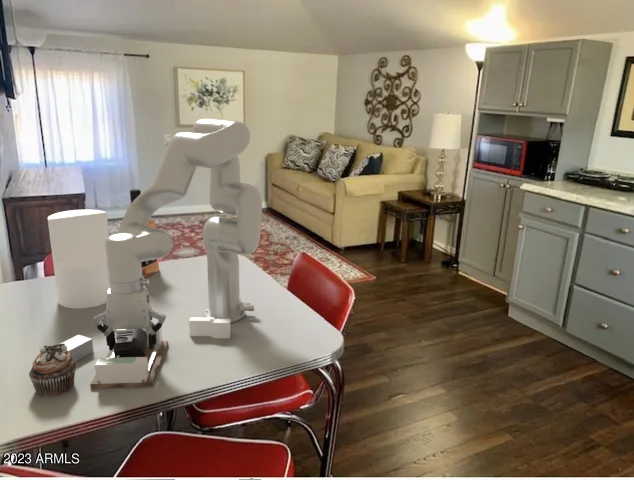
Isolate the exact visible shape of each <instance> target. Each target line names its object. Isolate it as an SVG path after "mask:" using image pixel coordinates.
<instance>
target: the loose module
mask: <svg viewBox="0 0 634 480" xmlns="http://www.w3.org/2000/svg"><path fill="white" fill-rule="evenodd" d="M59 344H65V346H67V350H68V351H69V352H70V353H71V354H72V358H73V359H75V361H76V362H77V361H79V360H81V359H83V358H85V357H86V356H88V355H90V354H92V353H93V352H94V344H93V338H91V337H88V336H84V335H81V334H77V335H74V336H72V337H71V338H69V339H67V340H65V341H63V342H61V343H59Z"/></svg>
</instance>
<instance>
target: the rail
mask: <svg viewBox="0 0 634 480" xmlns="http://www.w3.org/2000/svg"><path fill="white" fill-rule="evenodd" d="M159 347H160V344H156V346H155V349H154V351H153V353H152V356H151V358H150V361H149V363H148V373H149V372H150V370H151V367H152V365H153V362H154V360H155V357H156V355H157V352H158V350H159ZM116 356H117V355H116ZM116 356H114V352H113V354H112V356H111V357H110V358H115V357H116ZM97 382H98V383H100V384H101V381H97ZM143 382H144V381H143V380H142V383H143ZM98 383H97V384H98Z"/></svg>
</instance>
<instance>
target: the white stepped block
mask: <svg viewBox="0 0 634 480" xmlns="http://www.w3.org/2000/svg"><path fill="white" fill-rule="evenodd" d="M188 326H189V327H188V328H189V337H210V338H213V339H230V338H231V333H232V332H231V323H230V319H215V317H204V316H202V317H201V316H190V317H189V320H188Z"/></svg>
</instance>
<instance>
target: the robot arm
mask: <svg viewBox="0 0 634 480" xmlns="http://www.w3.org/2000/svg"><path fill="white" fill-rule="evenodd" d="M250 141H251V133H250V130H249V128H248V126H247V125H246V124H245V123H243V122H242V121H239V120H230V119H220V118H218V119H217V118H202V119H201V118H200V119H198V120H197V121H196V122H195V123H194V124H193V128H192V132H191V131H184V132H183V131H181V132H177V133H175V134H173V136H172V137H171V138H170V140H169V142H168V145H167V147H166V150H165V151H164V155H163V157H162V160H161V162H160V164H159V165H160V166H159V168H158V170H157V171H156V174H155V177H154V180H153V182H152V183H151V185H150V186H148V187H147V188H145V189H144V190H143V191H141V194H140V195H139V196H138V197H137V198H136V199H135V200H134V201H133V202H132V203H131V202H130V204H131V205H129V206H128V208H127V210H126V211H125V213H124V215H123V218H122V220H121V222H120V223H121V225H120V224H119V229H118V232H117V233H114V234H111V235H109V237H108V238H107V239H106V241H105V249H106V258H107V267H108V276H109V285H110V288H109V289H108V292H107V301H106V303H105V304H106V306H105V307H106V308H105V309H106V310H105V311H104V312H101V313H99V314H97V315H95V316H94V317H93V319H91V320H92V322H93V324H94V325H95V326H96V328H97V330H99V331H100V332H101V333H103V336H104V337H105V340H106V345H107V347H108V350H109V351H110V350H113V349H114V345H115V343H116V342H117V340H116V331H114V330H116V329H143V328H145V329H146V330H147V331H148V332H149V335H148V338H149V349H153V347H154V344H156V343H157V338H156V332H157V331H158V330H159V329H160V328H161V327H162V326H163V324H164V323H165V321H166V318H167V316H166V315H165V314H163V313H161V312H159V311H157V310H154V309H153V307H152V302H151V297H150V293H149V290H148V287H147V286H149V283H150V280H149V279H147V278H143V275H142V267H141V262H143V261H148V260H155V259H157V260H159V259H162V258H164V257H166V256H167V255H169V253H170V252H171V251H172V248H173V246H174V242H173V238H172V236H171V235H170V234H169V232H167V231H165V230H163V229H161V228H156V227H155V228H153V227H149V226H147V223H148V221H149V219H152V218H151V217H152V216H153V215H154V214H155V213H156V212H157V211H158V210H159V209H161V208H163V207H164V206H166V205H168V204H172V203H174V202H176V201H180V200H182V199H184V197H186V195H187V194H188V190H189V187H190V185H191V182H192V179H193V177H194V175H195V172H196V169H197V167H199V168H206V169H209V170H210V172H209V173H210V174H209V175H210V176H209V204H210V206H211V208H212V209H213V210H214V211H216V212H219V213H222V214H226V215H232V216H236V218H232V217H227V216H213V217H210V218H209V219H207V220H206V222H205V223H204V224H203V228H202V237H203V243H204V246H205V251H206V261H207V263H206V265H207V289H208V290H207V291H208V293H207V294H208V307H207V308H206V309H205V310H204V311H203V317H215V319H230V324H233V323H235V322H238V321H241V320H242V319H243V318H244V317H245V316H246V315H245V314H246V312H255V304H251V302H243V301H242V298H241V297H240V259H239V256H238V254H241V255H251V254H253V253H254V252H256V250H257V248H258V246H259V244H260V243H259V242H260V239H261V231H262V230H261V229H262V216H263V215H262V213H263V212H262V211H263V199H262V195H261V192H260V191H259V189H258V188H257V187H256V186H255V185H254V184H251V183H246V182H244V183H243V182H242V181H241V162H240V158H239V157H238V156H239V155H240V154H242V153H243V152H244V151H245V150H246V149H247V147H249V145H250ZM153 318H154V319H156V320H158V321H157V322H156V323H154V322H153ZM104 319H106V324H105V323H104V322H102V321H103V320H104ZM155 324H156V325H155Z"/></svg>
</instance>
